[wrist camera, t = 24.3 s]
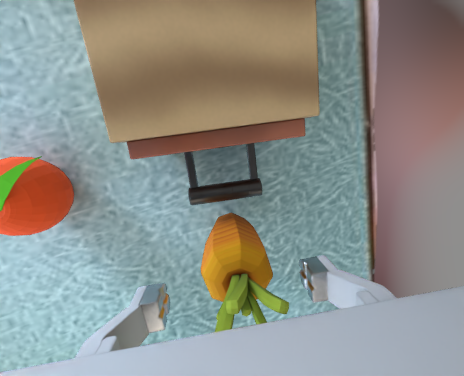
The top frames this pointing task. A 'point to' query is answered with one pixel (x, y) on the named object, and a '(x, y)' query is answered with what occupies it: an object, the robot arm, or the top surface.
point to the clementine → (32, 195)
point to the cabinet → (200, 63)
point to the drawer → (217, 140)
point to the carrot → (238, 271)
